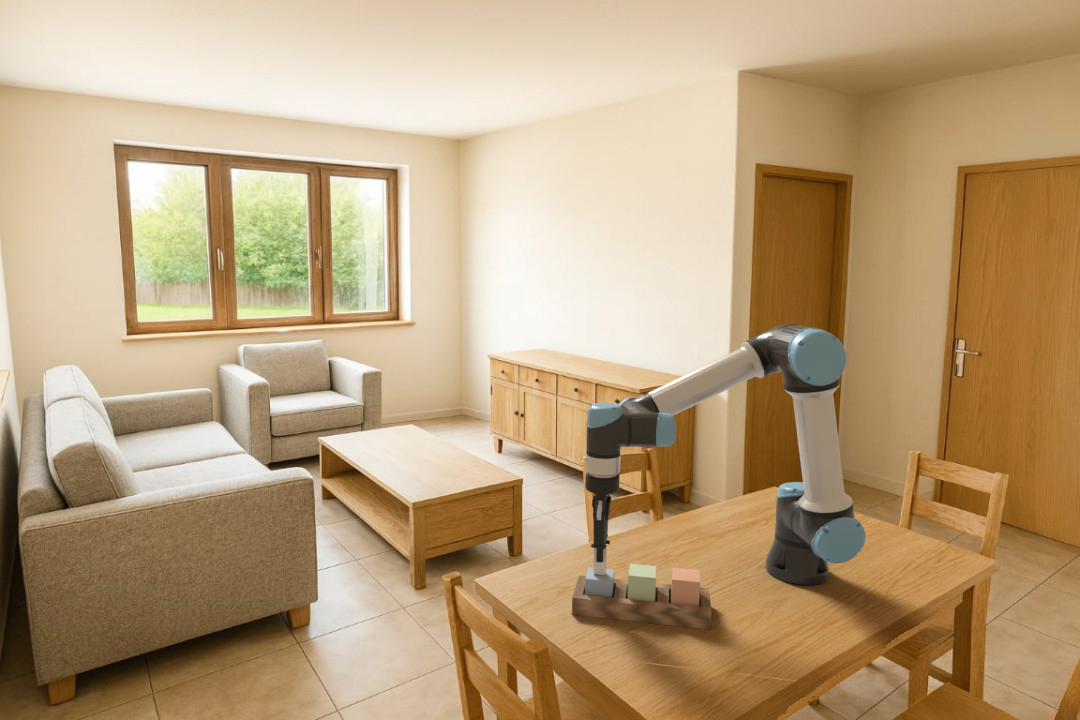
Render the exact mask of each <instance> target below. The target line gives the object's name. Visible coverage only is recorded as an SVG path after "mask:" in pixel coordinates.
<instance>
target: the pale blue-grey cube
mask: <svg viewBox="0 0 1080 720" xmlns="http://www.w3.org/2000/svg"><path fill="white" fill-rule="evenodd" d="M593 572H594V566H592V567H591V566H588V567H587V571H586V575H585V576H586V578H585V595H593V596H602V597H612V598H614V579H615V569H613V568H612V569H611V568H606V575H598V574H593Z"/></svg>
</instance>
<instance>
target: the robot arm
mask: <svg viewBox="0 0 1080 720" xmlns="http://www.w3.org/2000/svg"><path fill="white" fill-rule="evenodd" d="M846 365H847V353H846V349H845V347H844V345H843V343H842V342H841V341H840V339H839V338H838V337H836V336H835V335H834V334H833V333H830V332H828V331H826V330H824V329H821V328H819V327H811V326H810V327H809V326H805V325H800V324H796V323H786V324H781V325H778V326H775V327H772V328H770V329H768V330H765V331H763V332H761V333H760V334H756V335H755V336H754V337H751V338H749V339H747V340H745V341H743V342H741V344H740V348H739V349H736V350H734V351H732V352H730V353H728V354H726V355H724V356H722V357H719V358H718V359H716V360H714V361H711V362H709V363H707V364H705V365H703V366H701V367H698V368H696V369H695V370H693V371H691V372H688V373H686V374H685V375H683V376H680V377H678V378H677V379H674V380H673V381H670V382H668V383H665V384H664V385H661V386H660V387H657V388H655V389H654V390H651V391H649V392H647V393H644V394H642V395H640V396H638V397H633V396H631V397H626V398H624V399H622V400H621V401H620V402H619V403H614V402H607V401H605V402H604V401H601V402H596V403H592V404H590V405H589V406H588V409H587V417H586V425H585V426H586V456H583V458H582V459H583V461H584V462H586V463H585V471H586V473H585V480H584V481H585V485H584V486H585V487H584V489H586V491H587V492H589V493H592V494H594V495H593V498H592V501H591V506H592V518H593V543H591V546H590V547H591V548H592V549H593V568H594V572H593V574H598V575H606V569H607V550H608V546H607V545H610V544H611V540H609V539H608V537H609V534H608V529H609V517H610V514H611V505H612V504H611V503H612V496H611V495H614V494H616V493H618V492H619V490H620V476H621V475H620V474H619V473H620V472H621V457H622V455H621V450H622V449H621V448H660V447H661V448H663V447H671V446H672V445H673V444H674V443H675V442H676V437H677V422H676V419H675V415H677V414H679V413H682V412H684V411H686V410H688V409H690V408H692V407H695V406H696V405H699V404H700V403H702V402H705V401H706V400H709V399H711V398H713V397H716V396H717V395H719V394H721V393H723V392H725V391H728V390H729V389H732V388H734V387H737V386H738V385H741V384H742V383H744V382H746V381H749V380H751V379H753V378H758V379H763V378H765V377H767V376H769V375H772V374H773V375H774V374H778V373H782V382H783V388H784V391H785V392H786V393H787V394H789V395H790V396H791V397H792V402H793V403H792V404H793V411H794V420H795V428H796V434H797V435H796V437H797V445H798V452H799V459H800V467H801V475H802V482H801V481H792V482H785V483H784V482H783V483H782V484H780V485H779V487H778V489H777V494H776V511H775V523H774V524H775V526H774V527H775V528H774V540H773V541H772V544H771V545H770V549H769V551H768V554H767V555H766V558H765V570H766V571H767V572H768V574H770V575H771V576H773V577H774V578H776V579H778V580H779V581H784V582H786V583H790V584H795V585H802V586H815V585H816V586H817V585H820V584H823V583H825V582H827V581H828V580H829V577H830V574H829V573H830V567H829V563H830V564H844V563H847V562H849V561H851V560H853V559H854V558H856V557H857V555H858V554H859V553H861V551H862V549H864V546H865V543H866V538H867V537H866V530H865V527H864V526H863V525H862V523H861V522H860V521H859V520H858V519H856V518H855V511H854V503H853V498H852V497H851V495H849V494H847V493H845V487H844V485H845V484H844V478H843V470H842V469H843V468H842V462H841V452H840V442H839V434H838V433H839V432H838V426H837V425H838V423H837V416H836V406H835V397H834V393H835V392H836V391H837V389H838V388H839V387H840V386H841V385H840V384H841V383H840V377H841V376H842V372H844V371H845V369H846Z"/></svg>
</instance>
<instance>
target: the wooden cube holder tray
mask: <svg viewBox="0 0 1080 720" xmlns="http://www.w3.org/2000/svg"><path fill="white" fill-rule="evenodd" d="M585 578H586V575H578V577H577V580H576V584H575V587H574V591H573V595H572V598H571V604H572V605H571V616H572V615H573V616H581V617H582V616H583V617H591V618H598V619H600V618H601V619H609V620H618V621H627V622H634V623H635V622H637V623H645V624H646V623H647V624H655V625H656V624H657V625H664V626H665V625H666V626H673V627H674V626H675V627H681V628H682V627H683V628H692V629H699V630H700V629H701V630H710V631H711V629H712V605H711V604H712V603H711V594H710V588H709V587H701V586H700V598H699V606H691V605H681V604H671V583H670V584H669V583H658V582H656V591H655V602H651V601H642V600H632V599H627V598H628V579H627V580H626V579H618V578H617V579H615V578H614V598H612V597H602V596H593V595H585Z"/></svg>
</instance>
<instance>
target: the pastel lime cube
mask: <svg viewBox="0 0 1080 720" xmlns="http://www.w3.org/2000/svg"><path fill="white" fill-rule="evenodd" d="M627 580H628V598H627V599H632V600H642V601H651V602H655V591H656V583H657V565H648V564H647V565H646V564H636V563H629V569H628V574H627Z"/></svg>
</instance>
